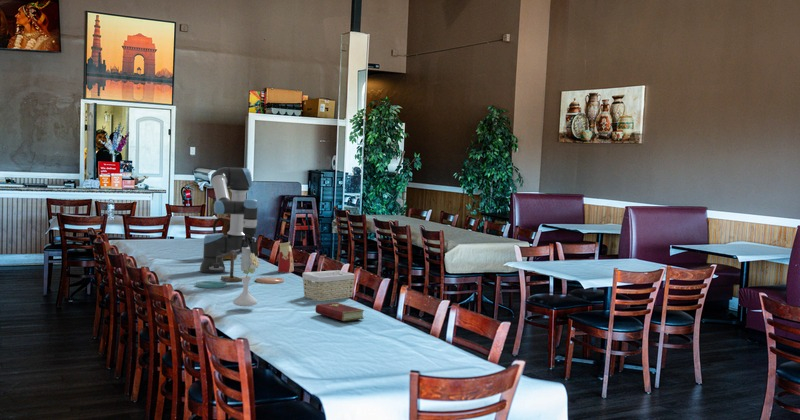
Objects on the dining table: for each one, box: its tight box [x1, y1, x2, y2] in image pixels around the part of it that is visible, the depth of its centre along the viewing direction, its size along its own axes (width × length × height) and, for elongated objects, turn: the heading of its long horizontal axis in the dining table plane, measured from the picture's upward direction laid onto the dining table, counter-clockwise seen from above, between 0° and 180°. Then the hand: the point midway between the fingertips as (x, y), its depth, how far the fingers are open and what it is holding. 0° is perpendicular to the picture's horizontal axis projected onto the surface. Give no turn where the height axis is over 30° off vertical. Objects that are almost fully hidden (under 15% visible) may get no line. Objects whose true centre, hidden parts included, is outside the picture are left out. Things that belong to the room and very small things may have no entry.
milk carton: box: [277, 241, 295, 274], centre depth 451 cm, size 9×9×20 cm
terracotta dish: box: [255, 276, 285, 285], centre depth 415 cm, size 16×16×1 cm
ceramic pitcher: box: [212, 216, 238, 261], centre depth 496 cm, size 20×20×30 cm
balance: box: [209, 249, 243, 283], centre depth 411 cm, size 12×27×19 cm, turn 131°
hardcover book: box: [315, 302, 365, 322], centre depth 330 cm, size 12×21×4 cm, turn 42°
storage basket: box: [302, 269, 356, 302], centre depth 376 cm, size 24×16×15 cm
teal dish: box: [195, 280, 227, 289], centre depth 390 cm, size 16×16×1 cm
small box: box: [240, 246, 256, 273], centre depth 402 cm, size 8×6×13 cm
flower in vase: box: [232, 253, 261, 307], centre depth 339 cm, size 13×11×25 cm
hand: (248, 266), depth 402 cm, fingers closed on small box, 9 cm apart
